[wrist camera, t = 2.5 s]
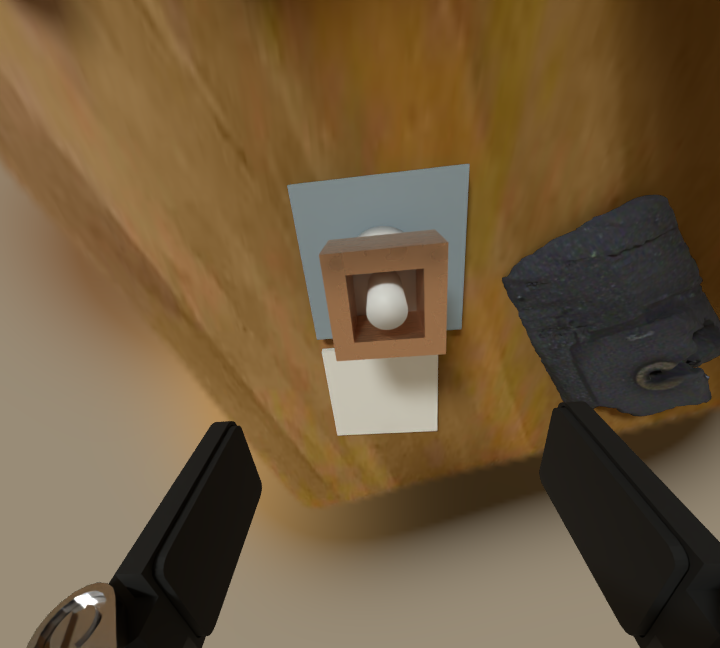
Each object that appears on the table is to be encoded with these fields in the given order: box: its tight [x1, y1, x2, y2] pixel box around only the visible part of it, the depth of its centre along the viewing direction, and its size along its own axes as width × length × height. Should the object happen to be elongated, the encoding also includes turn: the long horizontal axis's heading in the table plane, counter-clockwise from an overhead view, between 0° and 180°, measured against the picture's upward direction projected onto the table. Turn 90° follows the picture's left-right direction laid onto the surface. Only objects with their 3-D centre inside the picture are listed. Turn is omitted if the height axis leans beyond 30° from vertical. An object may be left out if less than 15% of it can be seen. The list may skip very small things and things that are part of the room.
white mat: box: [322, 348, 438, 435], centre depth 34 cm, size 12×12×1 cm
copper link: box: [319, 229, 449, 361], centre depth 20 cm, size 7×7×4 cm
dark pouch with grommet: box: [502, 195, 720, 416], centre depth 28 cm, size 15×22×5 cm
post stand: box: [287, 164, 469, 340], centre depth 23 cm, size 14×14×12 cm
